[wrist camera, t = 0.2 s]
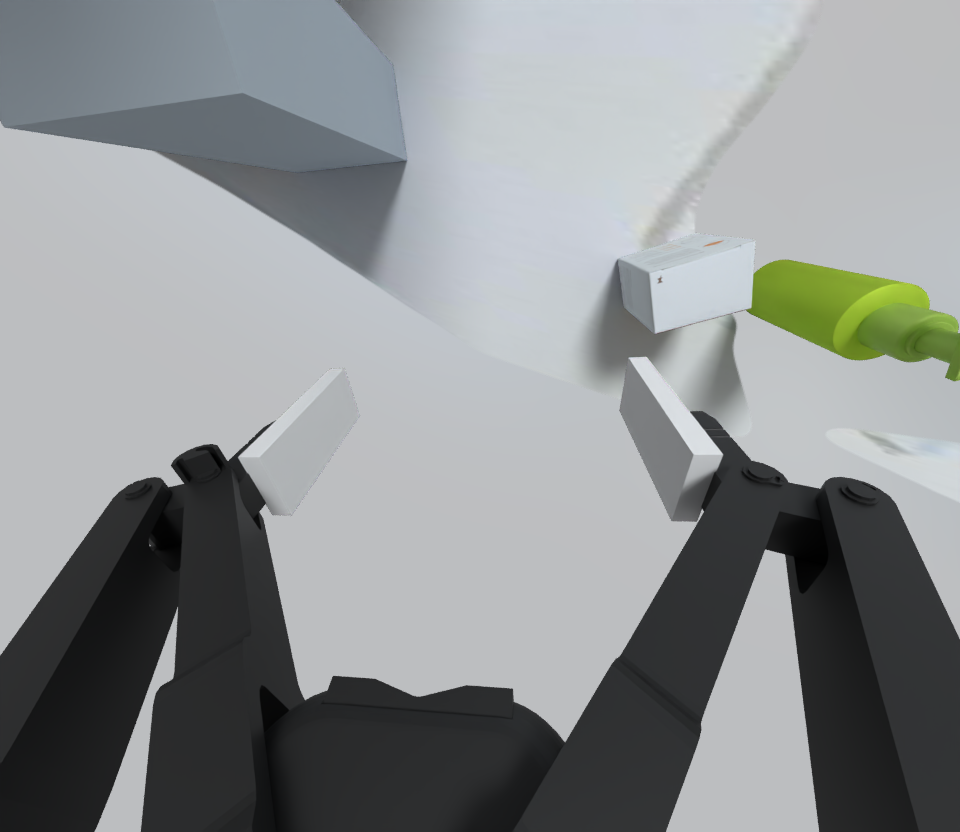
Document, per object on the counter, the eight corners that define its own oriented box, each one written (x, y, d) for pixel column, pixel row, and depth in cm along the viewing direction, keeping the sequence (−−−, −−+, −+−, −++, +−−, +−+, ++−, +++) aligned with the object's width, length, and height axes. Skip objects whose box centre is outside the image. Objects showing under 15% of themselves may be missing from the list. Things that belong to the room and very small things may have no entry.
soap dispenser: (806, 239, 35) (1083, 270, 18) (803, 305, 38) (1035, 386, 21) (740, 262, 36) (935, 311, 19) (742, 323, 39) (911, 412, 22)
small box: (622, 307, 40) (651, 336, 31) (616, 257, 37) (646, 272, 28) (698, 286, 38) (754, 310, 29) (697, 231, 35) (758, 238, 26)
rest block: (271, 82, 32) (-152, -130, 12) (393, 64, 31) (145, -212, 11) (296, 172, 36) (4, 127, 16) (407, 160, 35) (243, 92, 14)
